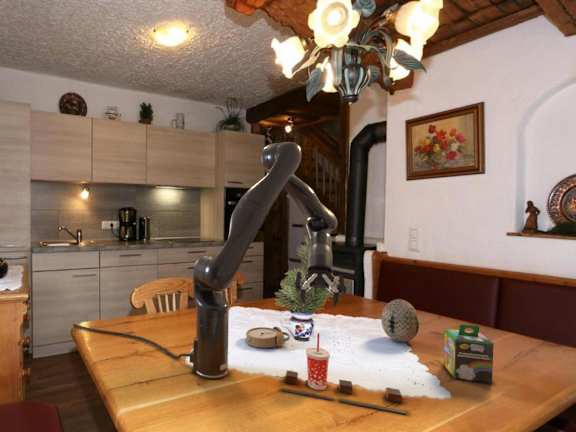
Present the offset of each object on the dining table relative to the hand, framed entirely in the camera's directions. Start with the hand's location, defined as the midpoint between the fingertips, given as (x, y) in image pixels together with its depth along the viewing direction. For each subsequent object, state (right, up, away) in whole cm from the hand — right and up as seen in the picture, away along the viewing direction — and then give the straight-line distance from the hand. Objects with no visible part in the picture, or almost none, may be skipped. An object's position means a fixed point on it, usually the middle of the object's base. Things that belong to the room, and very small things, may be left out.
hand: (319, 304), depth 105 cm
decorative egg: (+37, -19, +22) cm, 47 cm away
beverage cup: (-4, -19, -11) cm, 22 cm away
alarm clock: (-11, -18, +19) cm, 28 cm away
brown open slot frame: (+7, -19, -17) cm, 27 cm away
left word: (-8, -19, -12) cm, 24 cm away
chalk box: (+42, -20, -3) cm, 46 cm away
